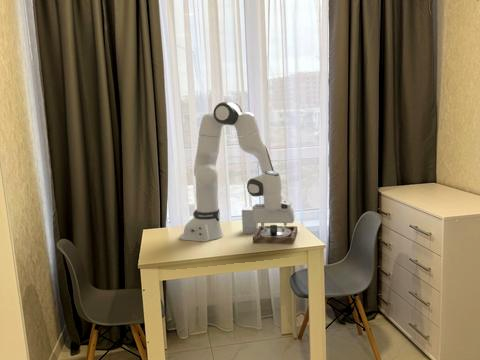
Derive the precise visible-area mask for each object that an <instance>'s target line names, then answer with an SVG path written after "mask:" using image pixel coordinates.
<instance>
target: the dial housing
mask: <svg viewBox="0 0 480 360" xmlns="http://www.w3.org/2000/svg"><path fill="white" fill-rule="evenodd" d="M264 226H265V227H267V228H270V225H264ZM284 226H285V225H279V226H278V225H277V227H280V228H282V227H284ZM285 228H287V229H290V230H291V231H292V235H291V237H260V231H261V230H263V227H262V226H261V225H258V229H257V231H256V233H253V236H252V244H279V245H280V244H281V245H294V243H295V241H296V238H297V235H298V226H295V225H293V226H292V225H290V226H288V225H286V227H285Z"/></svg>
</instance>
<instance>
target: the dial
mask: <svg viewBox="0 0 480 360" xmlns="http://www.w3.org/2000/svg"><path fill="white" fill-rule="evenodd" d="M269 226H270V228H267V232H264V229H263V230H261V231H260V237H291V235H292V231H291V230H290V229H287V228H285V232H282V228H280V227H277V226H278V225H277V224H270V225H269Z"/></svg>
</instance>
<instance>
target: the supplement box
mask: <svg viewBox="0 0 480 360" xmlns="http://www.w3.org/2000/svg"><path fill="white" fill-rule="evenodd" d="M252 207H253V206H245V207H243V208H242V210H241V220H242V221H241V224H242V234H255V233H256V231H257V229H258V228H259V223H254V221H253V215H254V213H253V210H252Z"/></svg>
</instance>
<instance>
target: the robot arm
mask: <svg viewBox="0 0 480 360" xmlns="http://www.w3.org/2000/svg"><path fill="white" fill-rule="evenodd" d="M224 126H233V127H234V128H235V131H236V135H237V142H238V145H239V147H240V149H241V150H242V151H243V152H244V153H247V154H250V155H253V156H254V157H255V158H256V159H257V161H258V164H259V167H260V170H261V174H260V175H257V176H254V177H252V178H250V179H248V181H247V184H246V188H247V189H246V190H247V192H248V194H249V195H250V196H251V197H255V198H256V197H260V196H261V197H263V203H256V204H254V205H252V206H251V207H252V210H253V213H254V215H253V221H254V223H258V224H260V226H262V227H263V229H264V232H267V227H265V226H266V225H265V224H283V226H284V227H282V232H285V227H286V226H288V224H293V223H294V222H295V213H294V209H293V208H292V202H291V201H290V200H289V201H288V200H285V199H283V197H282V180H281V175H280V173H279V172H277V171H275V170H274V167H273V164H272V161H271V158H270V155H269V151H268V148H267V146H266V145H265V144H264V142H263V140H262V138H261V134H260V129H259V125H258V122H257V119H256V117H255V115H254V114H253V113H252V112H247V111H246V112H243V110H242V108H241V106H240V105H239V104H237V103H235V102H232V101H223V102H220V103H218V104H216V106H214V109H213V113H211V112H210V113H205V114H204V115H203V116H202V118H201V121H200V125H199V130H198V140H197V149H196V155H195V160H194V168H193V176H194V177H195V197H196V209H195V210H194V211H193V214H192V216H193V218H192V219H190V220H189V221H188V222H187V223H186V224H185V225H184V227H183V228H184V229H183V232H182V233H181V234H180V235H179V239H180V240H182V241H196V242H202V243H203V242H204V243H205V242H208V241H213V240H217V239H220V238H222V237H223V236H224V233H223V229H222V227H221V221H220V220H221V214H220V213H221V212H220V209H219V197H218V189H219V188H218V187H219V182H218V180H219V177H218V176H219V175H218V174H219V173H218V170H217V160H218V156H219V153H220V145H221V136H222V130H223V127H224Z"/></svg>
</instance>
